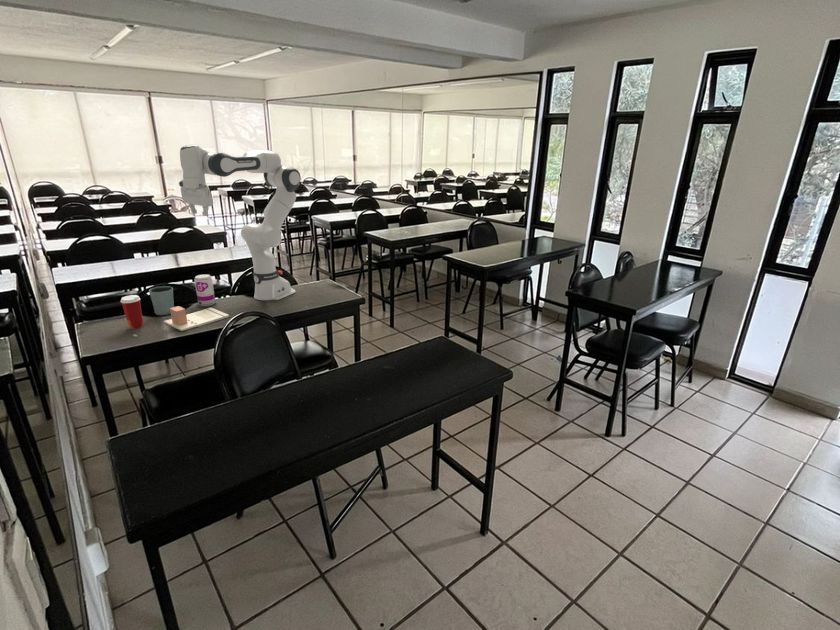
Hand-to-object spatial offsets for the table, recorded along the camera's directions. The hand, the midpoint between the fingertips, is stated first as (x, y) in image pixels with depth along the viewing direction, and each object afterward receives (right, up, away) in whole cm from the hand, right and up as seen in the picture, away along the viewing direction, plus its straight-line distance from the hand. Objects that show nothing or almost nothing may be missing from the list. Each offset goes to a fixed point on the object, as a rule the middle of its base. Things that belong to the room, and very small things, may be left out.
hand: (199, 214), depth 211 cm
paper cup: (-29, -51, 0) cm, 59 cm away
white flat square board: (-3, -47, +10) cm, 49 cm away
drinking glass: (-25, -45, +17) cm, 54 cm away
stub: (-10, -51, +2) cm, 52 cm away
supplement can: (-10, -40, +28) cm, 50 cm away
